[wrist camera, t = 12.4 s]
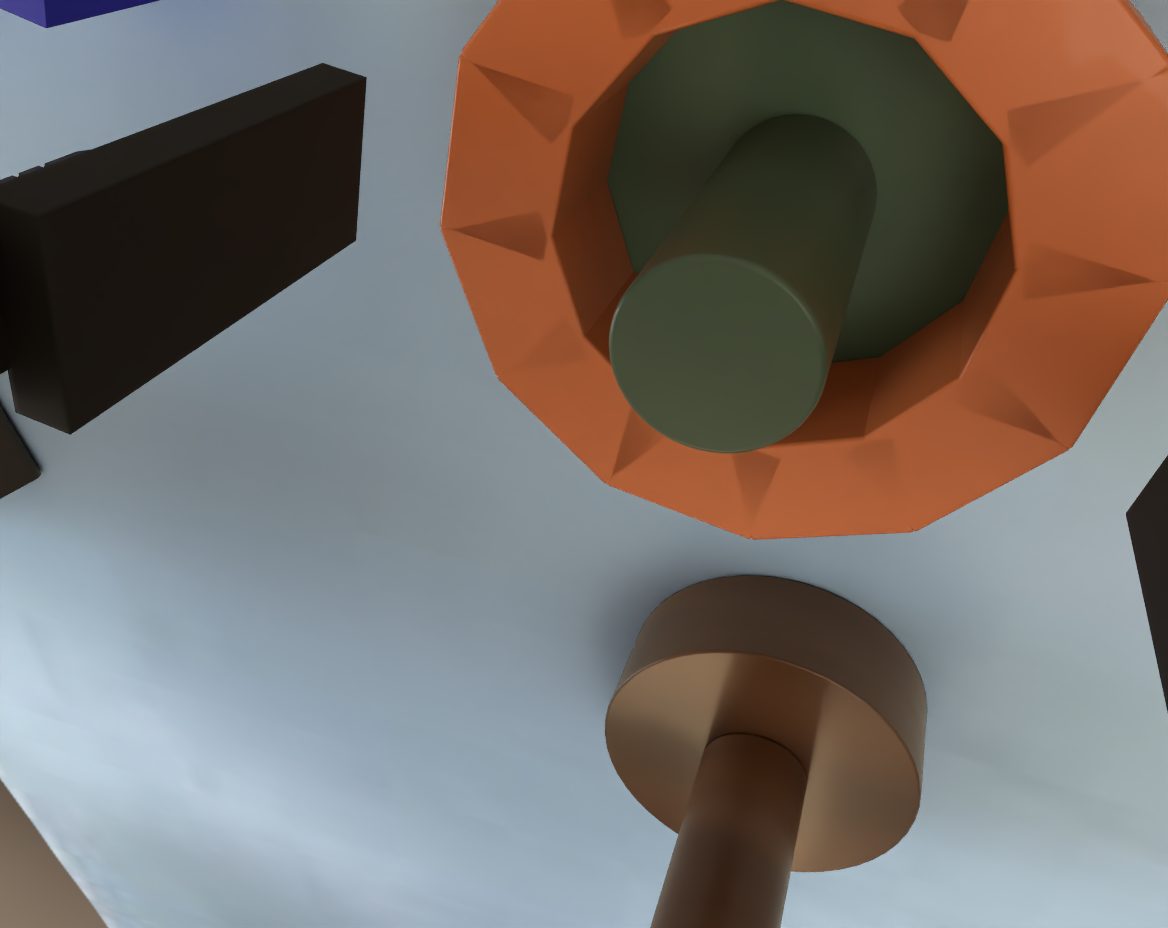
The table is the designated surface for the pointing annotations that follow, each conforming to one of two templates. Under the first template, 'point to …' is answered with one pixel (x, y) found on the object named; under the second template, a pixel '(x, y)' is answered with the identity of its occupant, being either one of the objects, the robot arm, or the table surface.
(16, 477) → the phone stand
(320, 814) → the table surface
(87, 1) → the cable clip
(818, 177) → the sage peg
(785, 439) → the ring
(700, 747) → the walnut peg
